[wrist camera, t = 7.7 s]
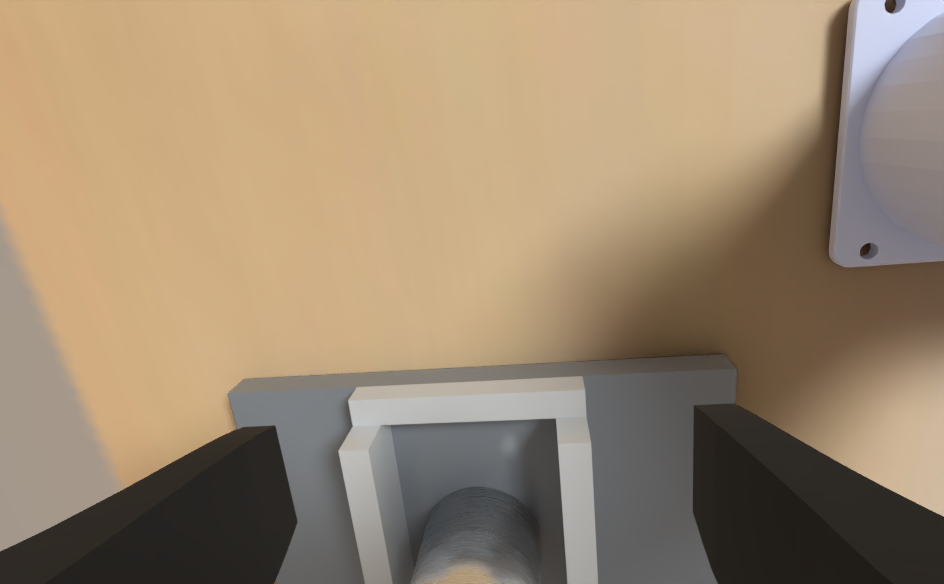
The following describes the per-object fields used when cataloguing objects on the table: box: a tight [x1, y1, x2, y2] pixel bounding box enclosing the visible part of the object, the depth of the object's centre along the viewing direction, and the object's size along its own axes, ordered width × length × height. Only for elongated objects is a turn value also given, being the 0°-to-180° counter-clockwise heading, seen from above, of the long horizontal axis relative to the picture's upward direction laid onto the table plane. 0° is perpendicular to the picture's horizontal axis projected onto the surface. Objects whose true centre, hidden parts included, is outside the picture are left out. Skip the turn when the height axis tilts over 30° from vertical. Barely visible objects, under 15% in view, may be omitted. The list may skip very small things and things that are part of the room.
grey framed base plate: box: [228, 354, 737, 584], centre depth 21 cm, size 18×14×4 cm
